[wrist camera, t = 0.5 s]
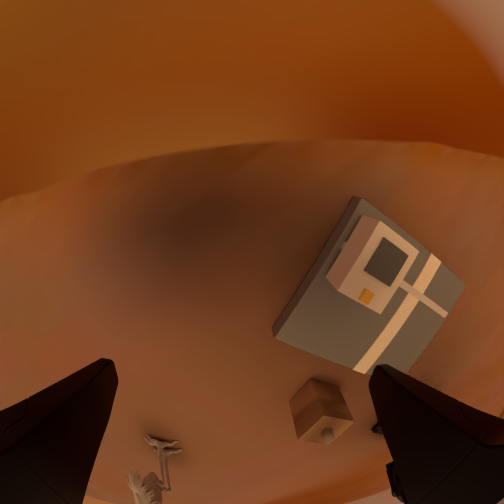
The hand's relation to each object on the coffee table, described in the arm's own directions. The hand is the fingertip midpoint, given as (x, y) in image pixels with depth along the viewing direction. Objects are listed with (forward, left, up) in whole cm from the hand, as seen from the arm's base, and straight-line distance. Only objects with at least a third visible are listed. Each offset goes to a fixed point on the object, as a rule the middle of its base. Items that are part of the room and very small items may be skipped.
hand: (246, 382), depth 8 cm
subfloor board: (-12, -2, -12) cm, 17 cm away
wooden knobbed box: (-13, +9, -12) cm, 20 cm away
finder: (-7, -5, -11) cm, 14 cm away
